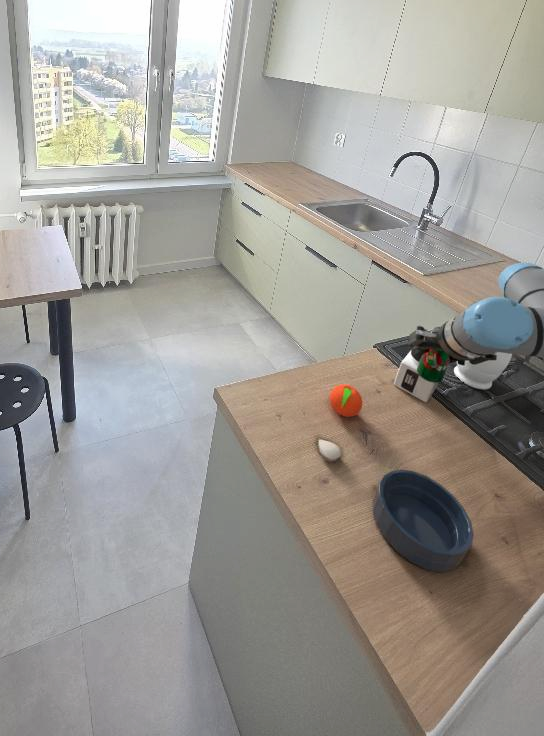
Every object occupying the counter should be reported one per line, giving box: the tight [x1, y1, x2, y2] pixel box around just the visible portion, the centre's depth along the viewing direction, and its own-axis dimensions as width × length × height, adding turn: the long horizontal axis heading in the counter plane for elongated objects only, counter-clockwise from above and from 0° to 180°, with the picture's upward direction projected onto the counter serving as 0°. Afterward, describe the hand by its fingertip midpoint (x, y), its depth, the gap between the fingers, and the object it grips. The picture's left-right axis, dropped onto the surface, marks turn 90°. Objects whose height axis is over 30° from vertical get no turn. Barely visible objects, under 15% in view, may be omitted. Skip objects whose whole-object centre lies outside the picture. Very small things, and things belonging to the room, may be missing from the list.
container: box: [393, 347, 439, 403], centre depth 104 cm, size 8×8×13 cm
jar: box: [453, 352, 513, 390], centre depth 107 cm, size 11×10×15 cm
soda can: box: [417, 326, 452, 384], centre depth 91 cm, size 5×5×12 cm
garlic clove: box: [318, 439, 342, 463], centre depth 87 cm, size 4×5×2 cm
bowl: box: [372, 469, 475, 573], centre depth 74 cm, size 14×14×6 cm
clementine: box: [329, 383, 363, 418], centre depth 96 cm, size 8×7×7 cm
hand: (431, 353), depth 95 cm, fingers closed on soda can, 5 cm apart
